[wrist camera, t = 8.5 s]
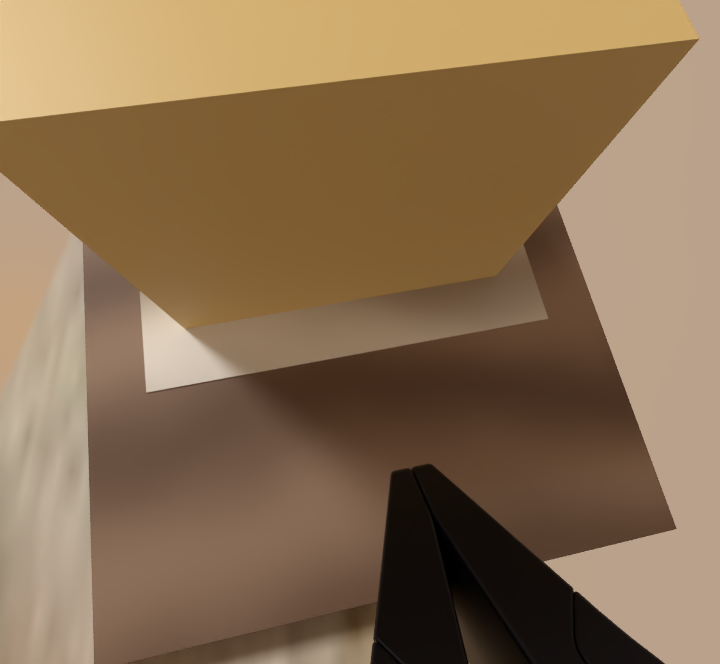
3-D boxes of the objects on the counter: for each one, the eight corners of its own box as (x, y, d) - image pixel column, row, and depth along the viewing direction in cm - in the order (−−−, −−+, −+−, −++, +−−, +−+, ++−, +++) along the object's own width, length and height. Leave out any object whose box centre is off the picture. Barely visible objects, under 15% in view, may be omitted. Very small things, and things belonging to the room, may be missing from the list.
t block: (495, 276, 17) (699, 38, 7) (184, 328, 16) (-52, 127, 6) (424, 42, 20) (501, -333, 11) (161, 72, 19) (-20, -321, 9)
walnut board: (651, 523, 16) (677, 528, 15) (114, 653, 14) (93, 671, 13) (470, 15, 23) (478, -10, 21) (91, 55, 21) (76, 30, 19)
